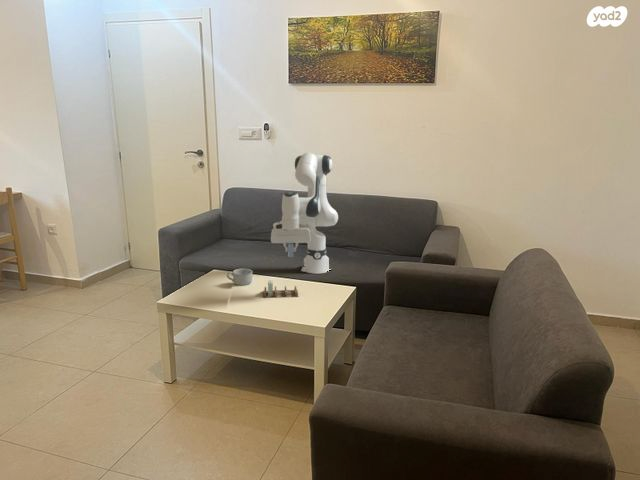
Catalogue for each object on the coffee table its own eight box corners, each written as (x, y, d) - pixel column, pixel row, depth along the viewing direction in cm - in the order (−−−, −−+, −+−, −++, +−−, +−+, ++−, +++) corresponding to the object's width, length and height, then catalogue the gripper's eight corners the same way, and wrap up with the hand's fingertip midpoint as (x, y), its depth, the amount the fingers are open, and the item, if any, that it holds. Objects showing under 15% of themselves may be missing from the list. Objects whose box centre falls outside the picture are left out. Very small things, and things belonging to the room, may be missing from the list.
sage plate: (268, 292, 243) (268, 280, 242) (272, 292, 243) (272, 280, 242) (268, 295, 238) (267, 283, 236) (272, 295, 238) (272, 283, 236)
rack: (263, 292, 246) (263, 286, 245) (297, 291, 248) (297, 285, 247) (262, 299, 234) (262, 293, 234) (298, 299, 236) (298, 292, 235)
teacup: (254, 282, 264) (254, 268, 262) (250, 288, 253) (249, 274, 252) (230, 281, 265) (230, 268, 264) (225, 287, 255) (224, 273, 253)
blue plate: (288, 254, 240) (288, 242, 239) (292, 254, 240) (292, 242, 239) (288, 257, 234) (288, 244, 233) (293, 257, 235) (293, 244, 233)
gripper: (310, 223, 238) (310, 249, 241) (270, 223, 236) (270, 250, 239) (311, 225, 232) (311, 252, 235) (270, 225, 230) (270, 253, 233)
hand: (290, 251), depth 237 cm, fingers closed on blue plate, 2 cm apart
